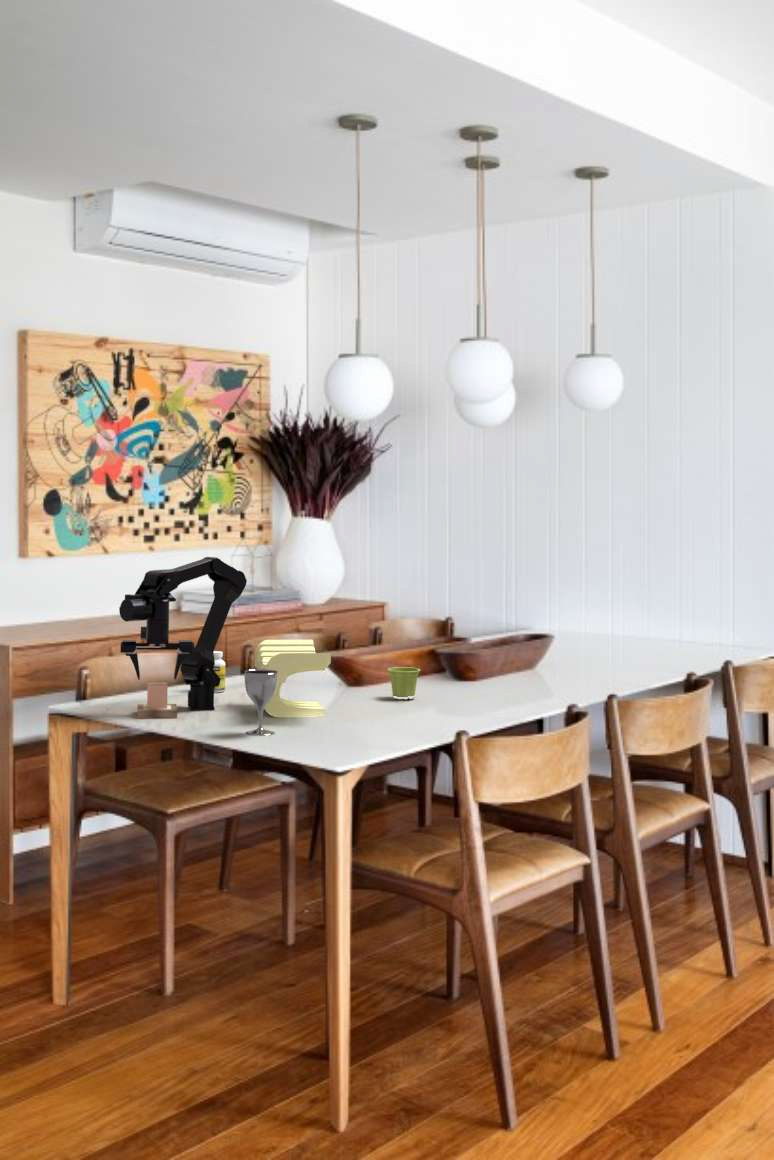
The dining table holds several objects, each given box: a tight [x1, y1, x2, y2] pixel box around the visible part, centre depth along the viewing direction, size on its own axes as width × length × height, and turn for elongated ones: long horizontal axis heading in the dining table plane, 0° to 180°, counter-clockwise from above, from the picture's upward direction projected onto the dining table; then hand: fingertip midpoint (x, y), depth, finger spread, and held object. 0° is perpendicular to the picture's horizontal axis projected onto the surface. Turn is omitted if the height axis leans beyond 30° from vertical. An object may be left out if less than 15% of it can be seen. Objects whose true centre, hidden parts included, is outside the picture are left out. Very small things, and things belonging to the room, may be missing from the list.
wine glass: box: [244, 668, 278, 737], centre depth 313 cm, size 8×8×15 cm
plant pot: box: [387, 666, 421, 697], centre depth 371 cm, size 9×9×9 cm
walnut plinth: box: [136, 703, 178, 719], centre depth 336 cm, size 10×10×2 cm
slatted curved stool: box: [254, 639, 332, 718], centre depth 343 cm, size 30×16×18 cm, turn 12°
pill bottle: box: [213, 650, 226, 694], centre depth 377 cm, size 6×6×12 cm
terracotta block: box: [146, 682, 169, 709], centre depth 335 cm, size 5×5×6 cm
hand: (157, 679), depth 335 cm, fingers open, 9 cm apart
